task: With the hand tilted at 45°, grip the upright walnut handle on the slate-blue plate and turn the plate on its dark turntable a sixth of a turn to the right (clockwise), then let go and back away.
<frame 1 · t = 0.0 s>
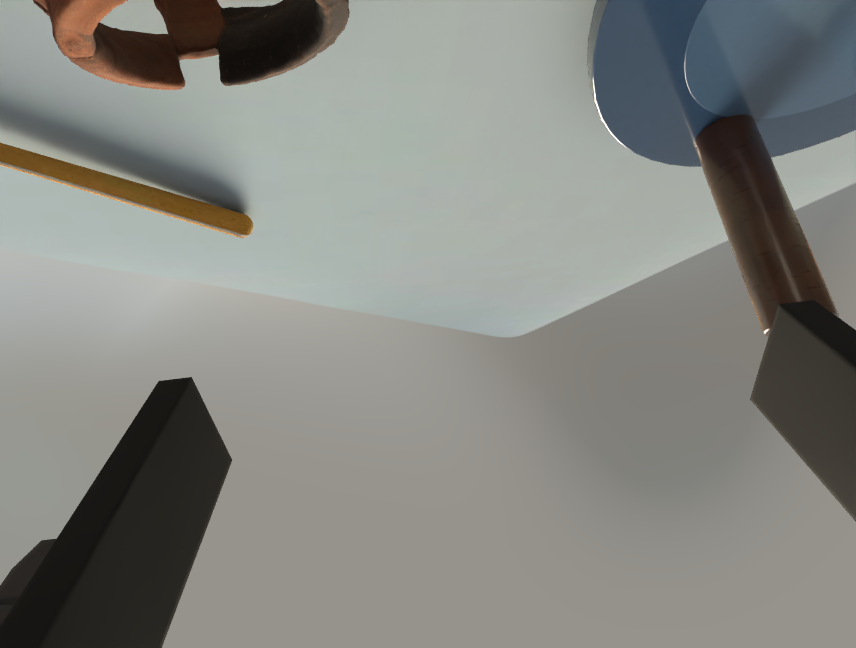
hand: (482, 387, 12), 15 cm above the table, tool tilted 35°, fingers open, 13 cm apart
fork: (50, 149, 24), on the table
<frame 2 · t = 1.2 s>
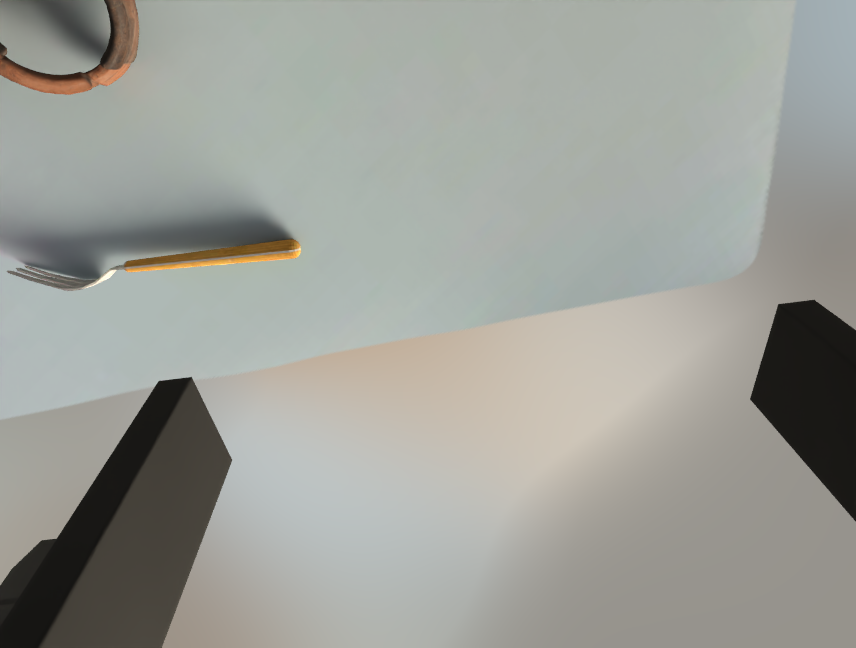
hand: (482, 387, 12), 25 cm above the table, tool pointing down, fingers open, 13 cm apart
broken brown clay pot: (44, 4, 28), on the table
fork: (166, 256, 37), on the table
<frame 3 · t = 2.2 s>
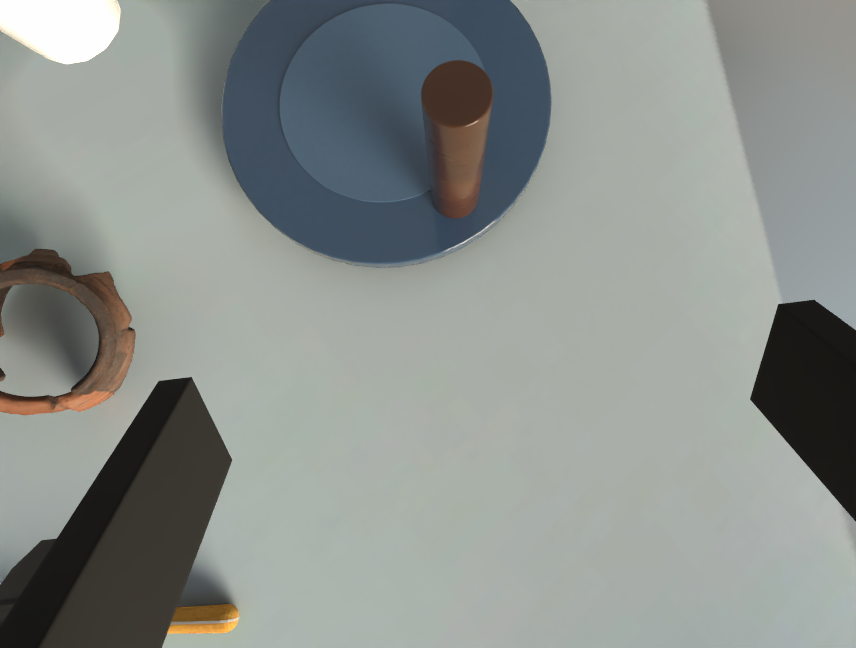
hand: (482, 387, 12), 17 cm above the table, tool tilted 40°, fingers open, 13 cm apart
broken brown clay pot: (61, 342, 30), on the table
fork: (72, 616, 29), on the table
foam cup: (76, 21, 33), on the table, touching arm
plate: (371, 49, 24), point 7 cm above the table, hinge at 0.0°
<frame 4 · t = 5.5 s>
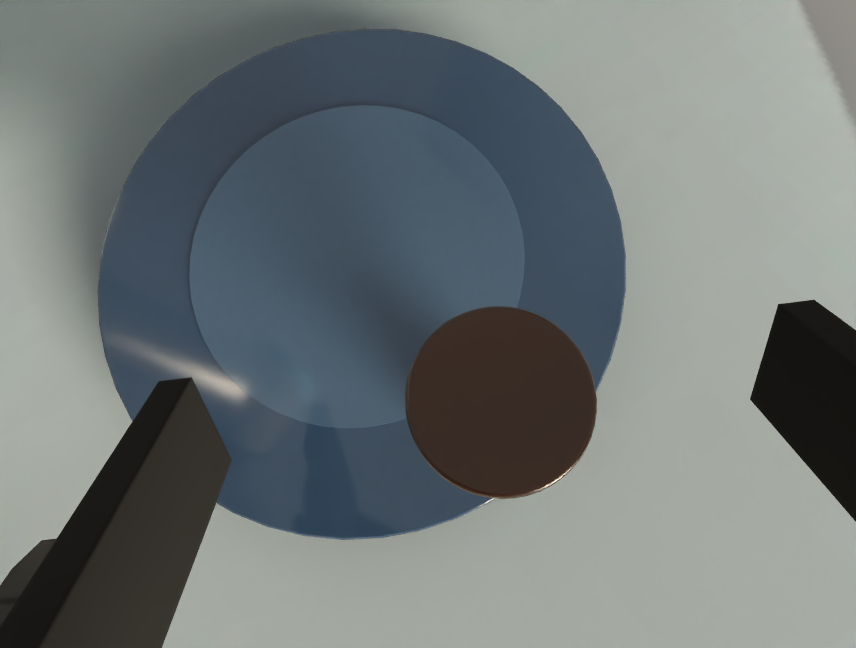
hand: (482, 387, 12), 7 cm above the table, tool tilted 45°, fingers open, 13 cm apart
plate: (320, 200, 14), point 7 cm above the table, hinge at 0.0°
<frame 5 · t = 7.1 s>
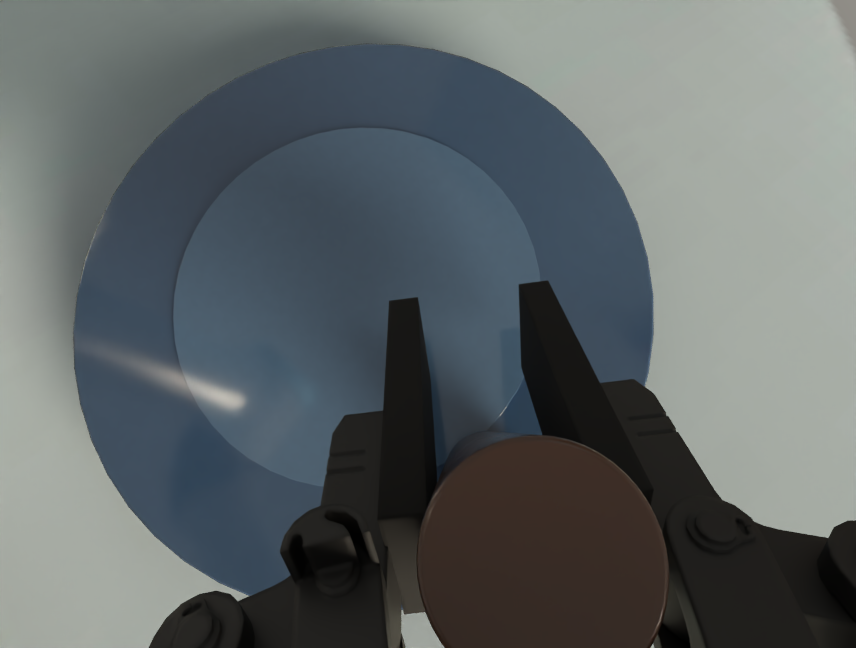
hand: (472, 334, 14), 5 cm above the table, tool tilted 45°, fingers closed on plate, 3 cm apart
plate: (315, 245, 12), point 7 cm above the table, hinge at 0.0°, touching gripper
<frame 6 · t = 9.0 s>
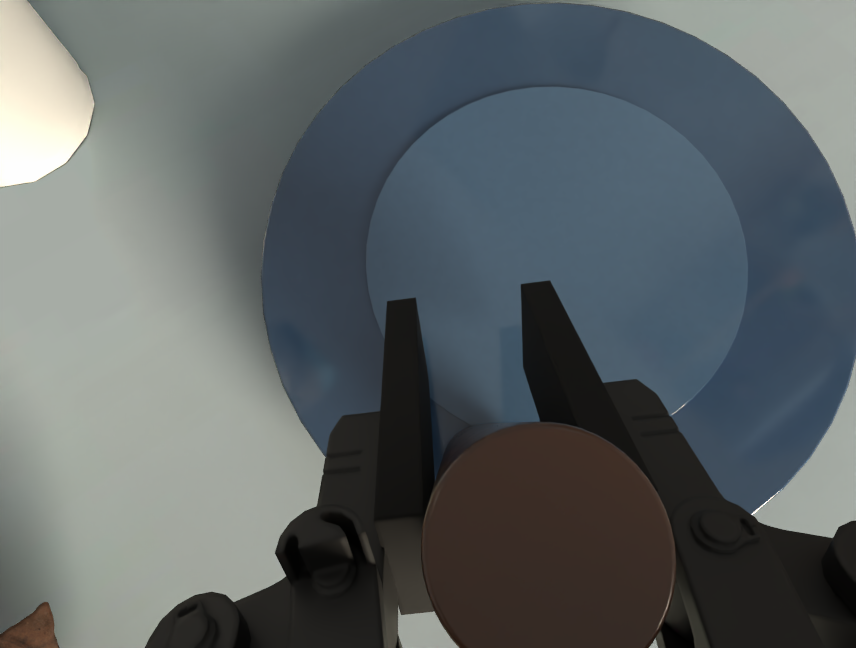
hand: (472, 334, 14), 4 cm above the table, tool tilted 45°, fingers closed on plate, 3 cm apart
foam cup: (23, 118, 21), on the table
plate: (589, 190, 12), point 7 cm above the table, hinge at -56.0°, touching gripper
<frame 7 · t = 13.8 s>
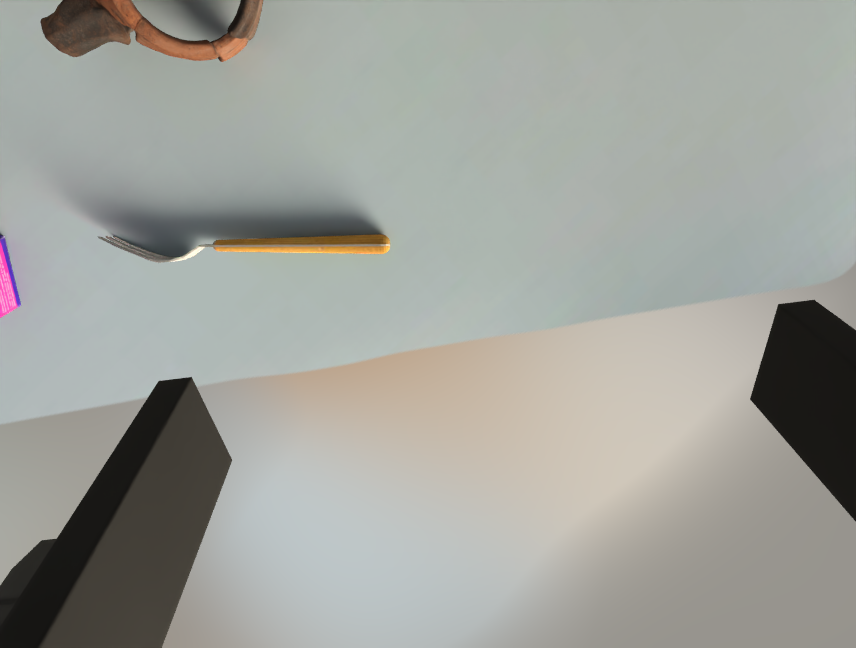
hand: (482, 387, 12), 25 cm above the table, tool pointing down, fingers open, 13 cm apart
fork: (254, 241, 37), on the table
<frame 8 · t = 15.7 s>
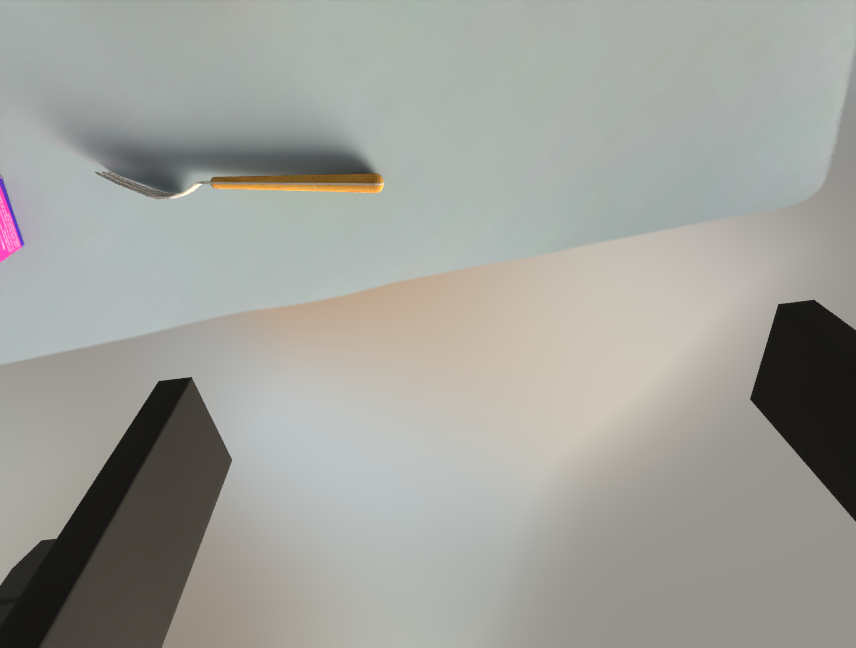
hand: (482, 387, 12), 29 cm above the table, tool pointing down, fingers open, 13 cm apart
fork: (250, 178, 38), on the table
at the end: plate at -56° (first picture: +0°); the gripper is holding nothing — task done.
